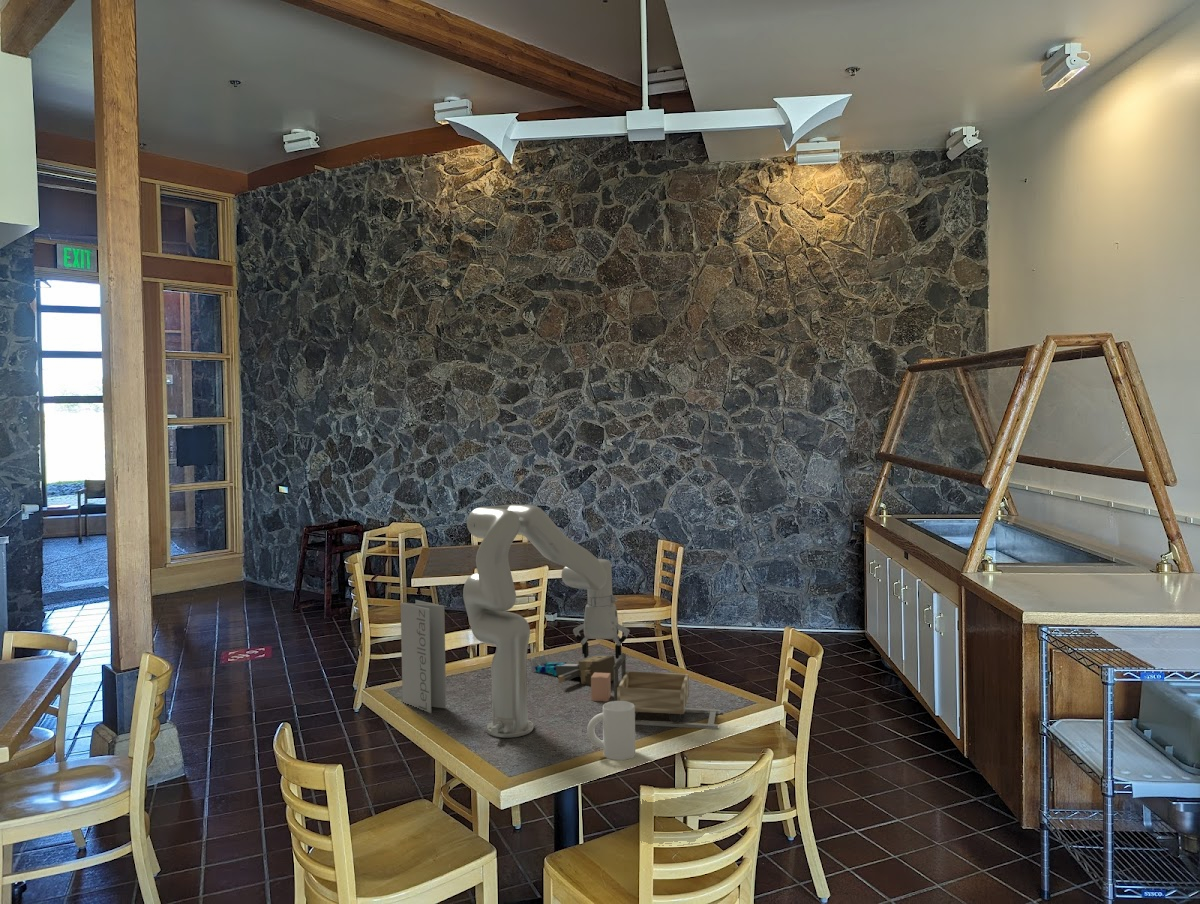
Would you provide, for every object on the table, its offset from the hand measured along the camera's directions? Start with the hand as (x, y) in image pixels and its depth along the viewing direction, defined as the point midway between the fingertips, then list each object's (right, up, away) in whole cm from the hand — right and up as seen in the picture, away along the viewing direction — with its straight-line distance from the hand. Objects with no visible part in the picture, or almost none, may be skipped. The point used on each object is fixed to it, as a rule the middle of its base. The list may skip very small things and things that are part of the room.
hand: (601, 657), depth 246 cm
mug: (+2, -13, -44) cm, 46 cm away
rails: (+20, -12, -18) cm, 30 cm away
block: (0, -12, 0) cm, 12 cm away
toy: (-10, -13, +22) cm, 28 cm away
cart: (+14, -11, -17) cm, 25 cm away
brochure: (-53, -13, -5) cm, 54 cm away
